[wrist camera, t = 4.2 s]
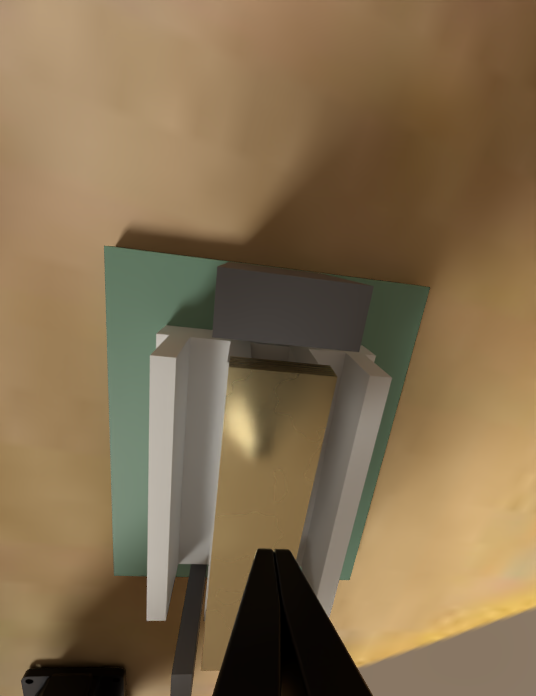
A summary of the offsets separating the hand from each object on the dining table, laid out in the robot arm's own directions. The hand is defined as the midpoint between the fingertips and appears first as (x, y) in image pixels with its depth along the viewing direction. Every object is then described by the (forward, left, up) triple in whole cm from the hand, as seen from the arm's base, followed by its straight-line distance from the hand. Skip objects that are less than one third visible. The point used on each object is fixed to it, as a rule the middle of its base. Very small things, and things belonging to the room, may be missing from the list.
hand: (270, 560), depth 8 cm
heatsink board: (-2, 0, -8) cm, 9 cm away
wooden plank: (-3, 0, -3) cm, 4 cm away
